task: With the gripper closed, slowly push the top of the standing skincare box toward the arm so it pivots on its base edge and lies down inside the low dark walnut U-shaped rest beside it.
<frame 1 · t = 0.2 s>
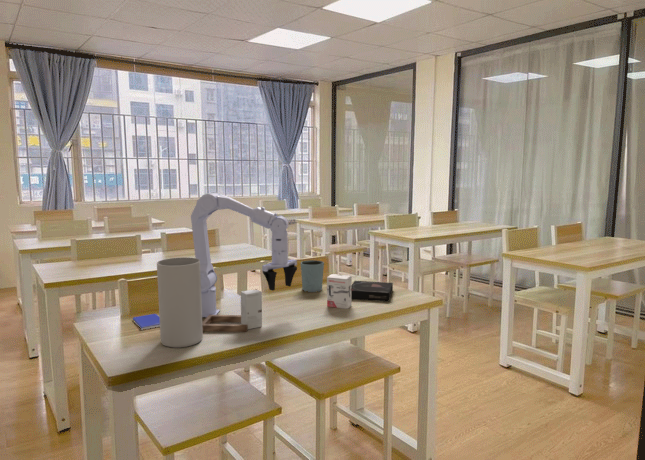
hand: (280, 287, 171), 10 cm above the table, tool pointing down, fingers open, 7 cm apart
hard drive: (149, 324, 165), on the table
ink box: (339, 306, 183), on the table
cylinder vase: (182, 341, 148), on the table
teal cup: (312, 289, 208), on the table
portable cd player: (371, 296, 199), on the table
skincare box: (251, 326, 161), on the table
u rest: (228, 325, 161), on the table
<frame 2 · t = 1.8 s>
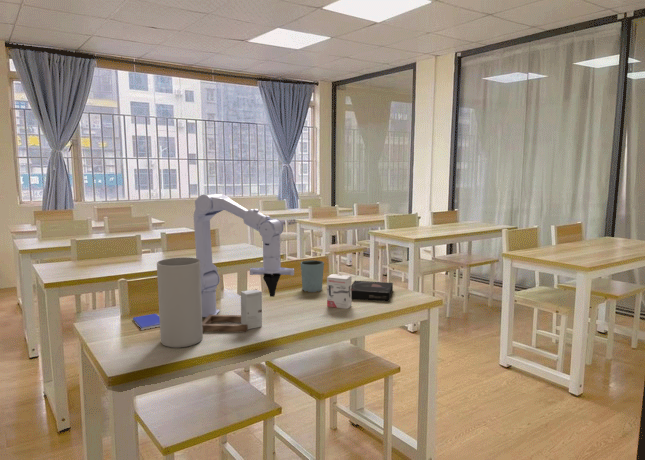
hand: (272, 295, 160), 10 cm above the table, tool pointing down, fingers closed
nothing on the table moved.
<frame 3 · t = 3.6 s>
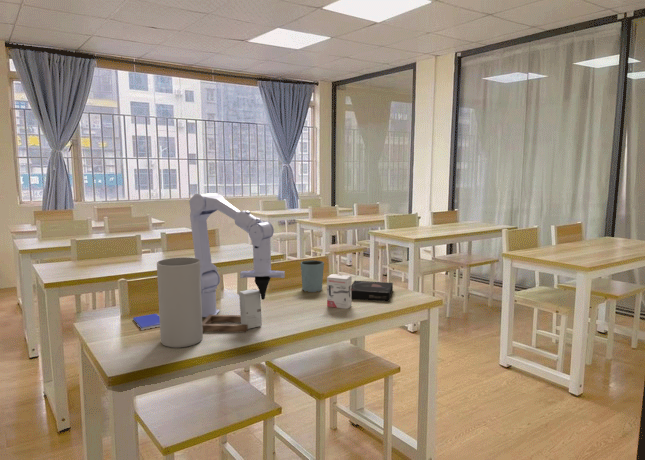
hand: (263, 298, 159), 10 cm above the table, tool pointing down, fingers closed
skincare box: (251, 326, 161), on the table, touching gripper
everything else where it was.
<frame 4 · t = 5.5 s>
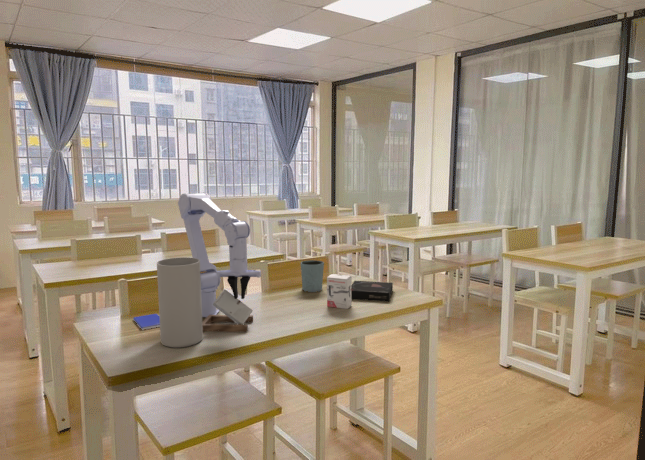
hand: (239, 298, 160), 10 cm above the table, tool pointing down, fingers closed
skincare box: (247, 318, 160), point 3 cm above the table, touching gripper
everything else where it was.
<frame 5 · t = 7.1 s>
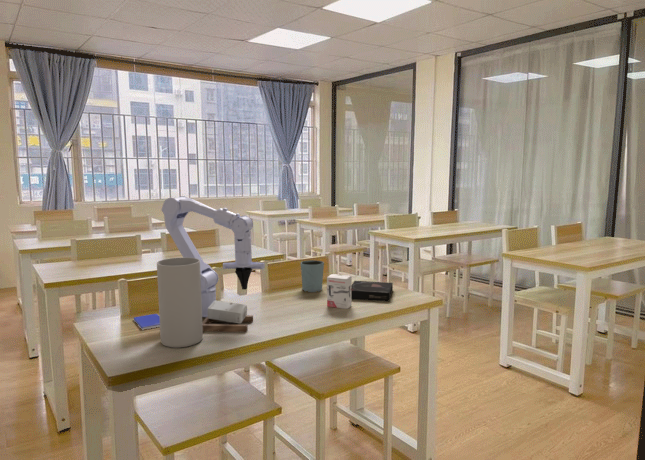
hand: (244, 288, 169), 10 cm above the table, tool pointing down, fingers closed
skincare box: (244, 314, 162), point 3 cm above the table, touching u rest
everything else where it was.
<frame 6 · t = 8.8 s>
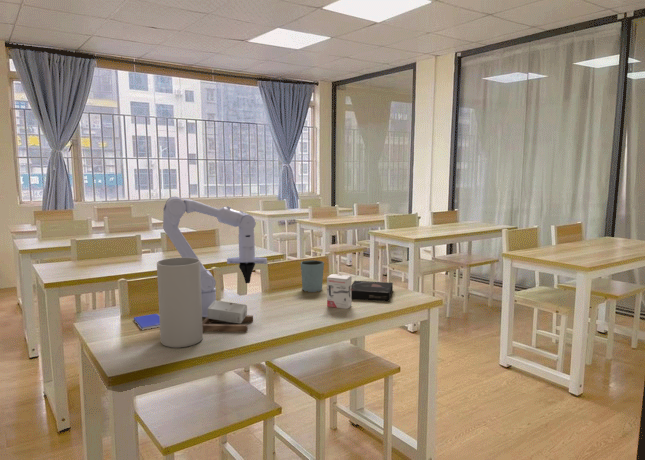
hand: (247, 282, 178), 10 cm above the table, tool pointing down, fingers closed
nothing on the table moved.
at the end: skincare box tilted 84°; skincare box 1.9 cm from the target spot, point 3.5 cm above the table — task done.
